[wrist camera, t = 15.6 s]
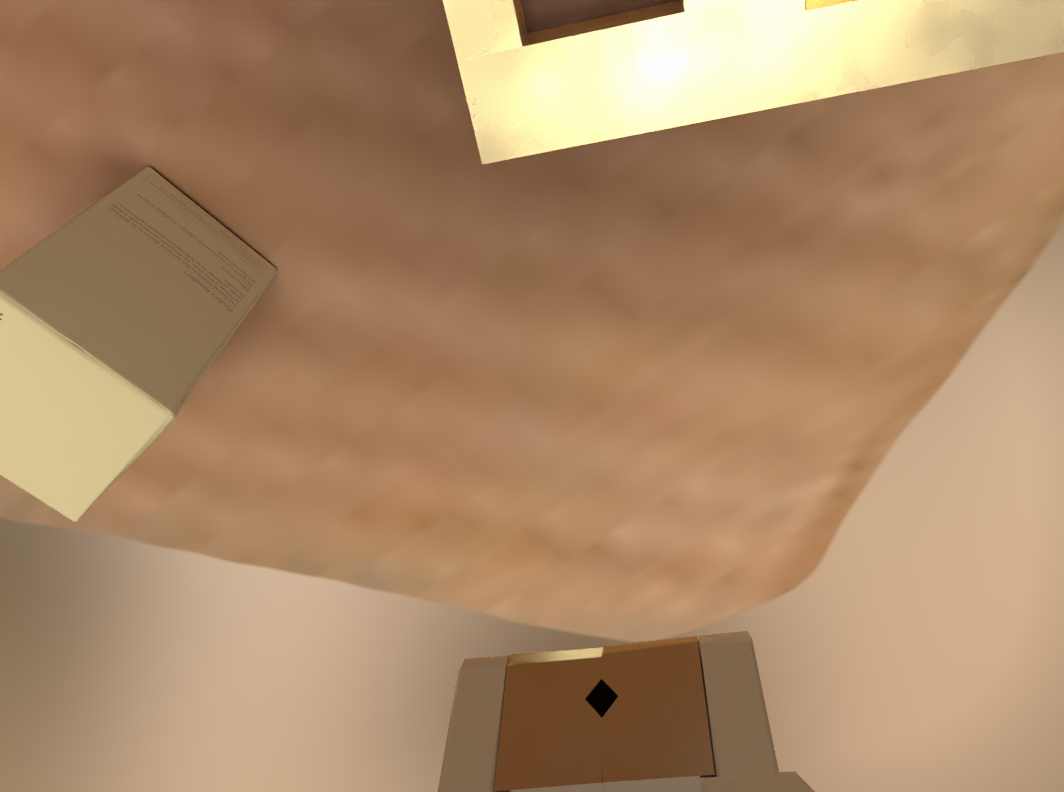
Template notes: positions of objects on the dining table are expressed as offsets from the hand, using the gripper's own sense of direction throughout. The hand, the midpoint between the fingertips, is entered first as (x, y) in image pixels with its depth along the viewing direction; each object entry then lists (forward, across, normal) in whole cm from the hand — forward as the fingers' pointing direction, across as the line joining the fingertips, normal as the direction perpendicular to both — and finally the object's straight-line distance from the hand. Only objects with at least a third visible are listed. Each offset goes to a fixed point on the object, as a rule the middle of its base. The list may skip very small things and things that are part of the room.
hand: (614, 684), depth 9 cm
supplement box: (+31, +21, +5) cm, 38 cm away
